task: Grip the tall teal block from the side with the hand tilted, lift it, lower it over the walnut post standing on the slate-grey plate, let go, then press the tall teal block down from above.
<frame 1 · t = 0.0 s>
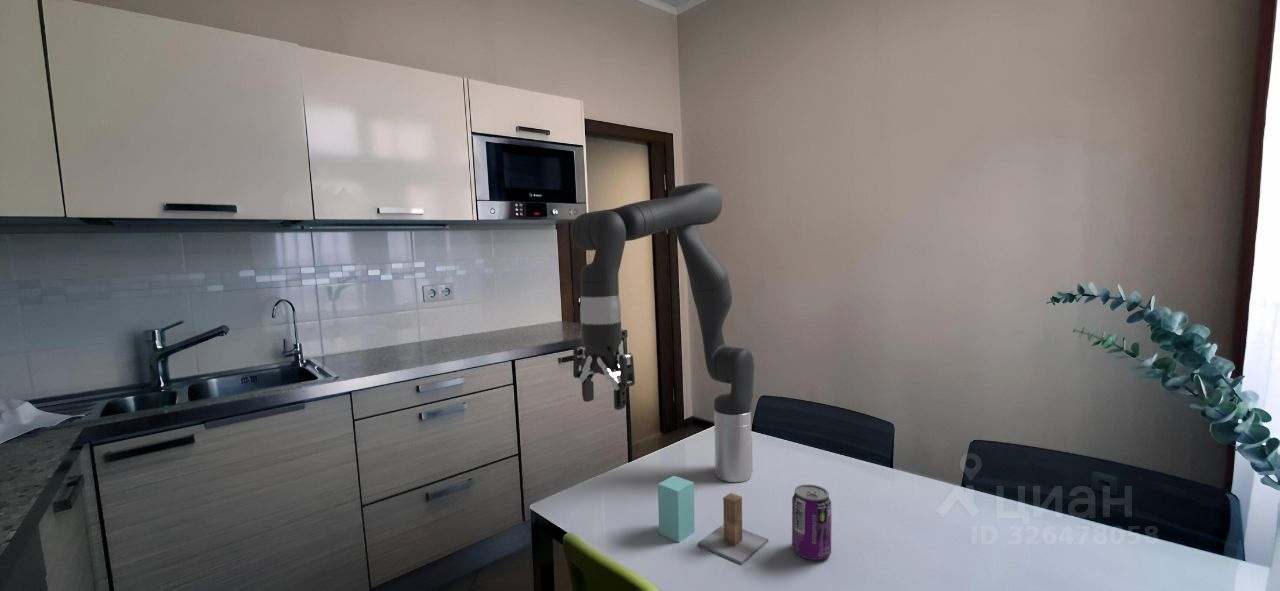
hand: (603, 404, 99), 29 cm above the table, tool pointing down, fingers open, 8 cm apart
post: (733, 543, 104), on the table
beverage can: (811, 553, 100), on the table
tall teal block: (676, 532, 108), on the table
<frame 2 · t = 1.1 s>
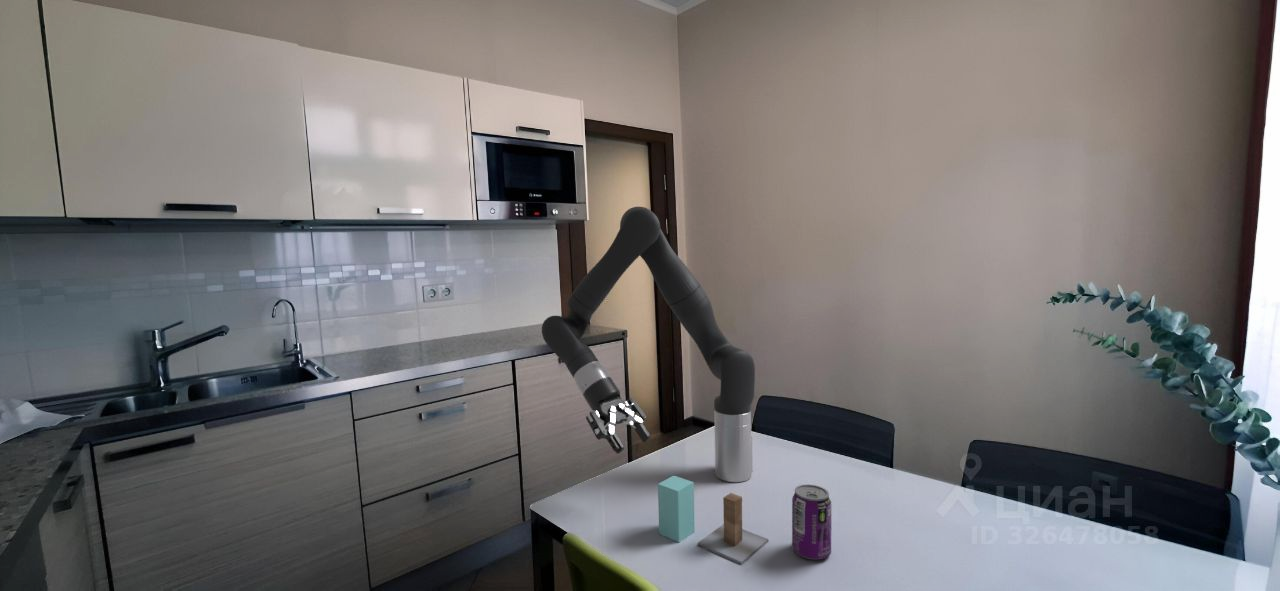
hand: (634, 445, 114), 16 cm above the table, tool tilted 45°, fingers open, 8 cm apart
nothing on the table moved.
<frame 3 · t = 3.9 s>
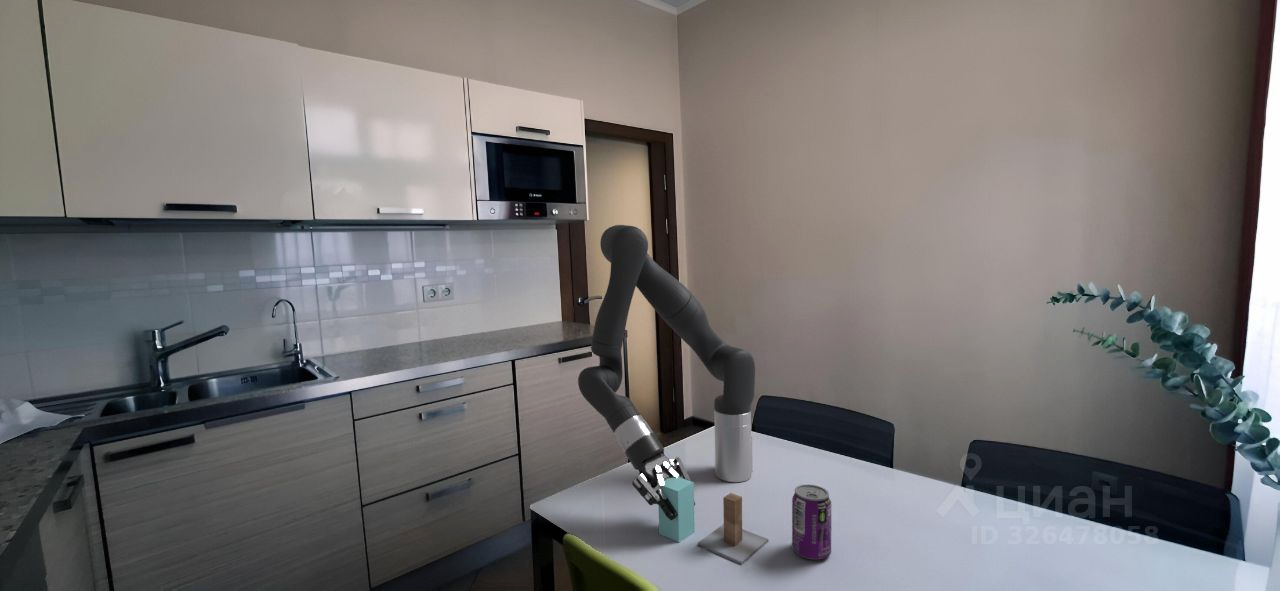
hand: (683, 512, 107), 5 cm above the table, tool tilted 45°, fingers closed on tall teal block, 5 cm apart
tall teal block: (676, 532, 108), on the table, touching gripper
everything else where it was.
when the fingers open (6 cm above the table, at t = 8.8 s): tall teal block stays where it is, resting on post.
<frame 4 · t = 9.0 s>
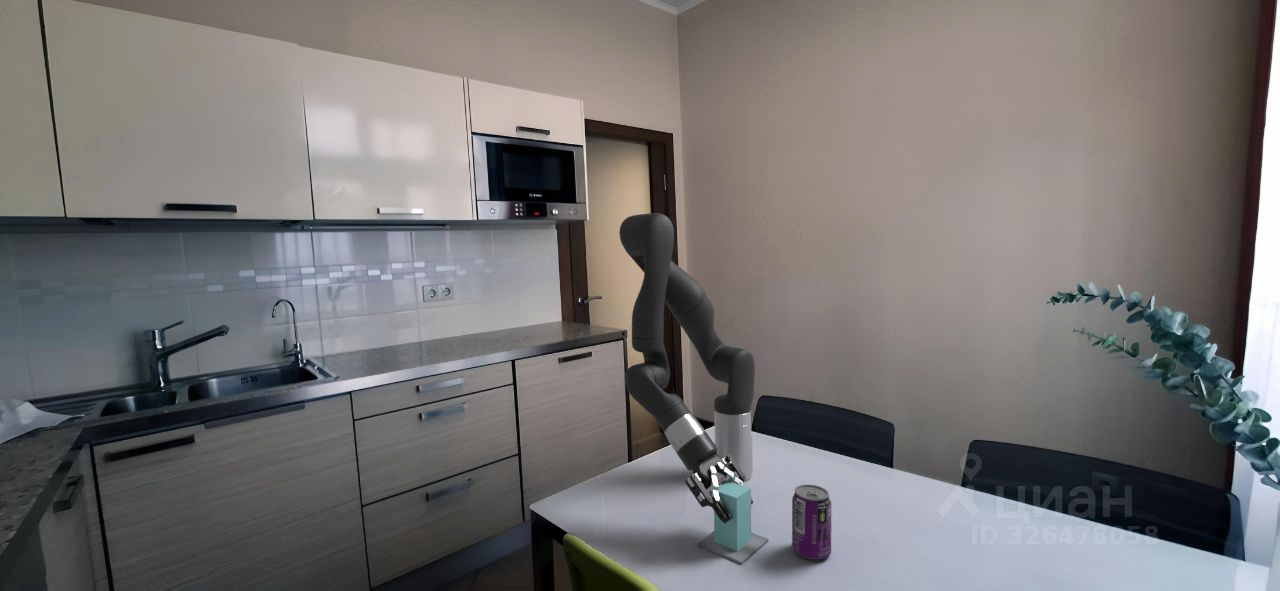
hand: (739, 512, 102), 7 cm above the table, tool tilted 45°, fingers open, 7 cm apart
tall teal block: (732, 541, 104), resting on post
everything else where it was.
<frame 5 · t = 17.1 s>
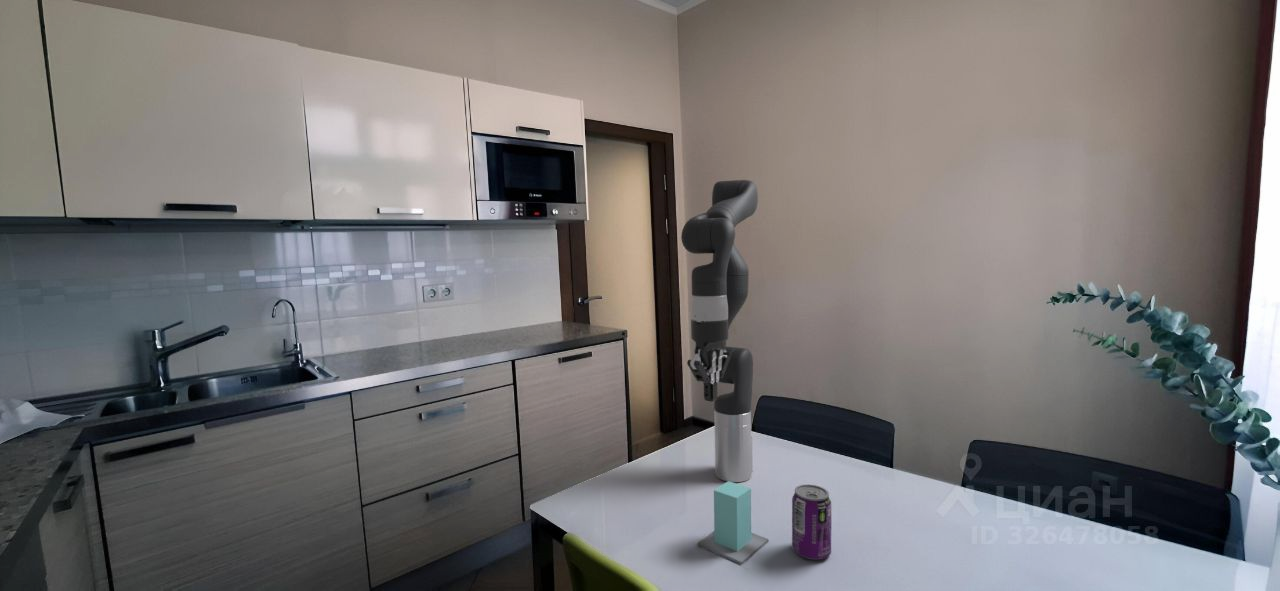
hand: (710, 400, 108), 27 cm above the table, tool pointing down, fingers closed
nothing on the table moved.
at the end: tall teal block 0.0 cm from the post (horizontally); tall teal block point 0.5 cm above the table; tall teal block tilted 0° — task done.
